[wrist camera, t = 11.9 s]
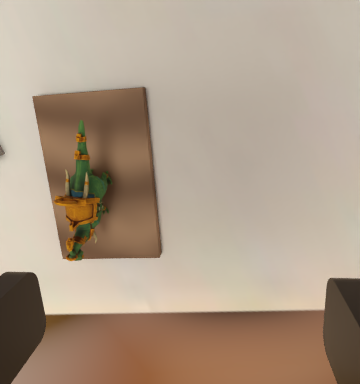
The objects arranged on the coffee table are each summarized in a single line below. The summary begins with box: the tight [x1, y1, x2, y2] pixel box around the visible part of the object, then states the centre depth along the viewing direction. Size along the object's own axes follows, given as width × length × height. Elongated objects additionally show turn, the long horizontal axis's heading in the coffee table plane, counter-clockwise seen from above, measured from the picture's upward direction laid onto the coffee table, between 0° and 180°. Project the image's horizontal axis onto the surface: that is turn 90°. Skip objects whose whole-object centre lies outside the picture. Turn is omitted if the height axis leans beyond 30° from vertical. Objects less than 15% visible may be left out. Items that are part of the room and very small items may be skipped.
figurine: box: [53, 120, 112, 261], centre depth 28 cm, size 3×12×8 cm, turn 173°
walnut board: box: [32, 87, 161, 259], centre depth 33 cm, size 16×10×1 cm, turn 4°
